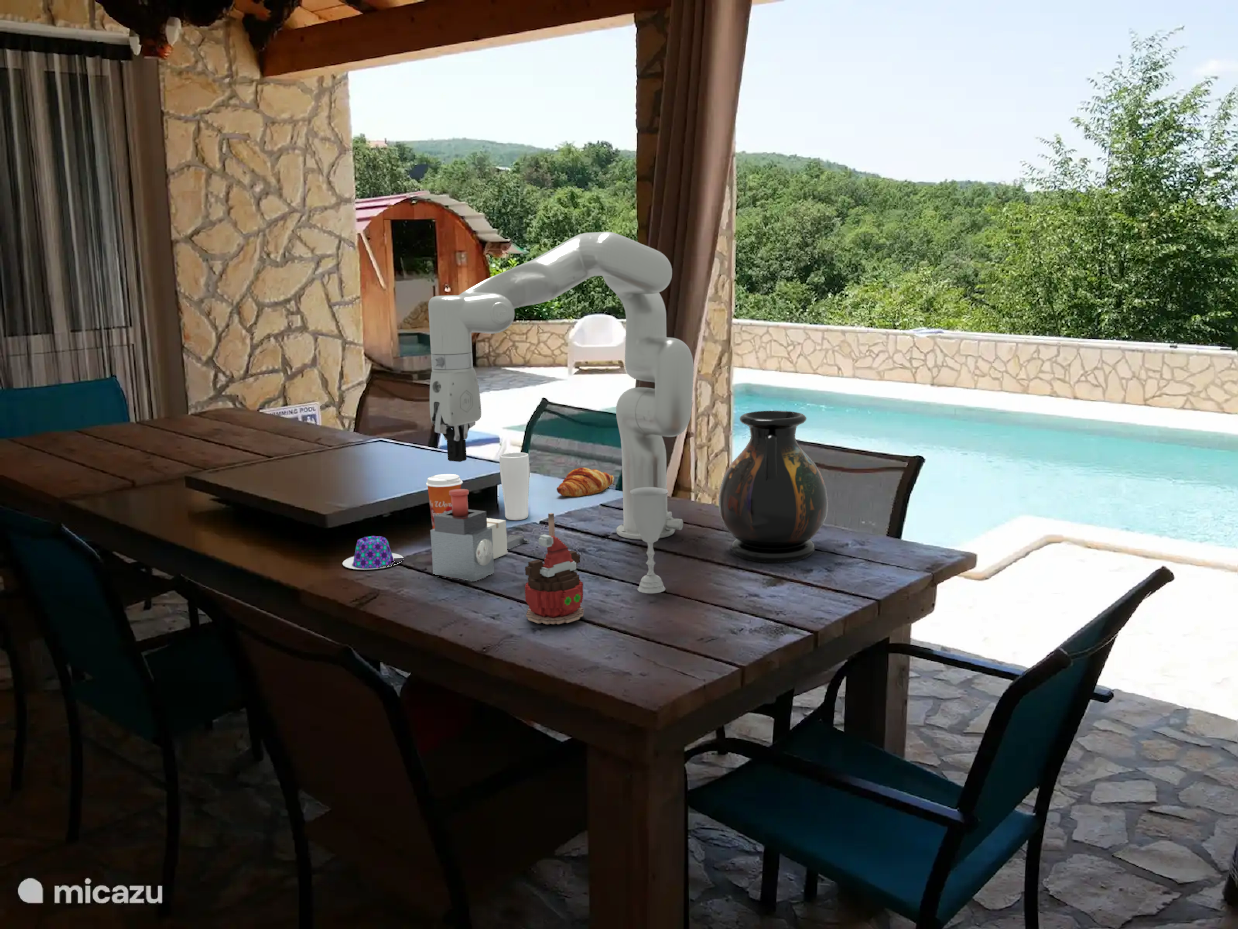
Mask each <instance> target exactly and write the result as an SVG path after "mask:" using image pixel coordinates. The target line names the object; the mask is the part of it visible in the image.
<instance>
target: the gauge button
mask: <svg viewBox="0 0 1238 929" xmlns="http://www.w3.org/2000/svg"><path fill="white" fill-rule="evenodd" d="M469 491H470V490H469V489H467V488H466V489H465V488H461V489H454V490H451V491H449V493H450V495H451V500H452V515H453V516H458V517H460V516H466V515H468V509H469V502H468V500H469V499H468V495H469Z"/></svg>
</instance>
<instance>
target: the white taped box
mask: <svg viewBox="0 0 1238 929" xmlns="http://www.w3.org/2000/svg"><path fill="white" fill-rule="evenodd" d="M487 527H488V528H492V540H493V560H495V559H498V558H499V557H502V556H505V555H508V550H507V535H508V534H507V519H500V518H499V519H496V518H491V517H489V518H488V517H487Z"/></svg>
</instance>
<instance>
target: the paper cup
mask: <svg viewBox="0 0 1238 929" xmlns="http://www.w3.org/2000/svg"><path fill="white" fill-rule="evenodd" d="M426 480H427V481H426V483H425V485H426V486H427V493H428V501H429V509H430V517H431V518H430V519H431V526H432V529H435V524H434V516H435V515H438V514H441V513H444V512H447V511H450V510H452V500H451V495H450V493H449V491H451V490H454V489H462V484H463V483H464V482H463V480H462V479H461V478H460V475H458V474H455V473H454V474H452V473H443V474H435V475H432V476H429V477H427V479H426Z"/></svg>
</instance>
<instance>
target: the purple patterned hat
mask: <svg viewBox="0 0 1238 929" xmlns="http://www.w3.org/2000/svg"><path fill="white" fill-rule="evenodd" d="M355 544H356V545H355V550H354V551H355V552H354V555H353V556H350V557H348V558H346V559H345V560H343V562H342V565H343V567H345V568H348V569H353V570H364V571H365V570H366V571H367V570H369V569H373V570H378V569H380V568H381V569H385V568H389V567H392V565H391V566H389V564H390V563H391V561H394V558H404V557H403V556H402V555H401V554H398V553H394V552H392V550H391V548H390V543H389V541H388V539H387V538H386V537H384V536H380V535H379V536H376V535H371V536H364V537H362V538H359V539H357V542H356V543H355ZM394 562H395V561H394ZM400 563H401V562H399V563H397V564H394V565H393V566H395V565H398V564H400ZM391 564H392V563H391ZM383 565H388V566H387V567H386V566H383ZM381 566H383V567H381ZM378 567H380V568H378Z"/></svg>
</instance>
